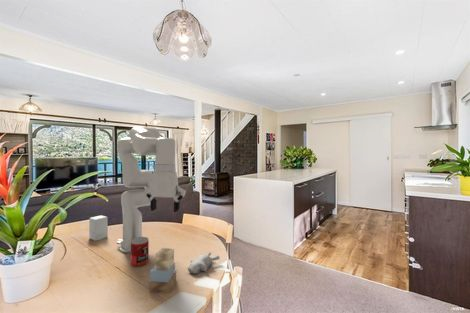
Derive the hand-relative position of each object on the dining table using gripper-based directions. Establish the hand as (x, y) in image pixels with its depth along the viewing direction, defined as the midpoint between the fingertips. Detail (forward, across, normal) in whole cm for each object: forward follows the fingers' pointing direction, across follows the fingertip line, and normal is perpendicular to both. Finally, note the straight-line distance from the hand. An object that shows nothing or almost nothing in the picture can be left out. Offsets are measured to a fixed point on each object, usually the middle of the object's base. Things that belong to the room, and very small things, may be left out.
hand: (164, 210), depth 92 cm
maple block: (+21, +2, -4) cm, 21 cm away
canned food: (+29, -18, +12) cm, 36 cm away
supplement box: (+30, -60, +38) cm, 77 cm away
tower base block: (+29, +2, -4) cm, 29 cm away
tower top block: (+25, +1, -4) cm, 25 cm away
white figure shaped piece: (+29, +13, +12) cm, 34 cm away
